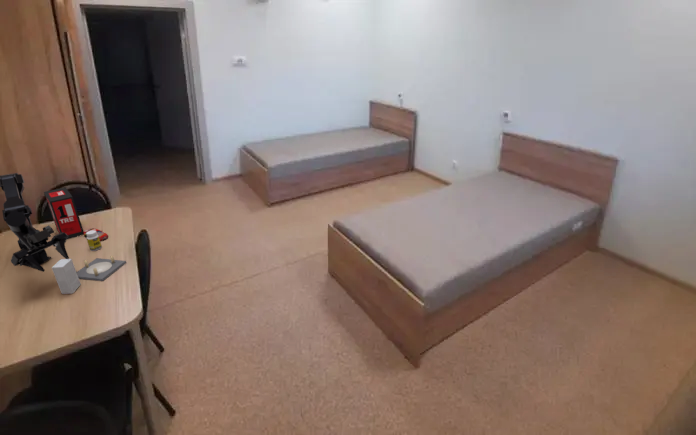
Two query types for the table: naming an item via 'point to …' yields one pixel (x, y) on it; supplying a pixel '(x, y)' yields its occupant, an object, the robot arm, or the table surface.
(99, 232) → the race car
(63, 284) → the skincare box
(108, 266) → the pin cradle
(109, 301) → the table surface
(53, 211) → the cleaning product box
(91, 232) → the supplement bottle
